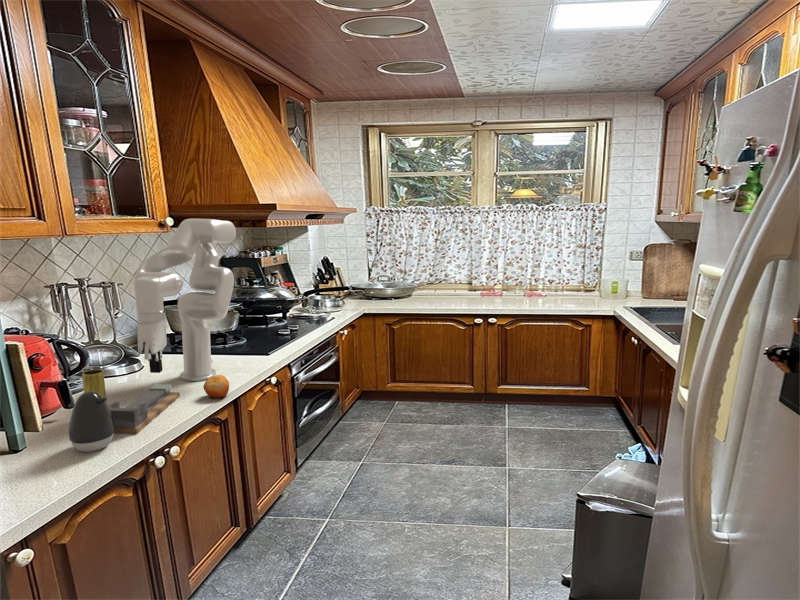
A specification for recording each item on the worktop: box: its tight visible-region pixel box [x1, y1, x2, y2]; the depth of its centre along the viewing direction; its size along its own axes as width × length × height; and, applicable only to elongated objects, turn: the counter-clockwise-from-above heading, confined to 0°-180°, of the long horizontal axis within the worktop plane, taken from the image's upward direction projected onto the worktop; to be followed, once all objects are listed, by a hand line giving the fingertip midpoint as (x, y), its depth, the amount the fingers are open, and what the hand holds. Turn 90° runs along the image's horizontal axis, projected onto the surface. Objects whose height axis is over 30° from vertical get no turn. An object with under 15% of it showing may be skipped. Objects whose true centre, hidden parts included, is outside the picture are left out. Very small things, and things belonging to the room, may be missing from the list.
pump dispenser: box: [68, 391, 115, 453], centre depth 126 cm, size 10×10×15 cm
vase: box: [81, 368, 108, 404], centre depth 143 cm, size 6×6×14 cm
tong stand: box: [108, 389, 181, 435], centre depth 148 cm, size 28×10×6 cm, turn 1°
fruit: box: [203, 374, 230, 399], centre depth 164 cm, size 8×8×8 cm
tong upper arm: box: [124, 383, 172, 408], centre depth 150 cm, size 23×6×2 cm, turn 1°
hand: (156, 371), depth 156 cm, fingers closed
